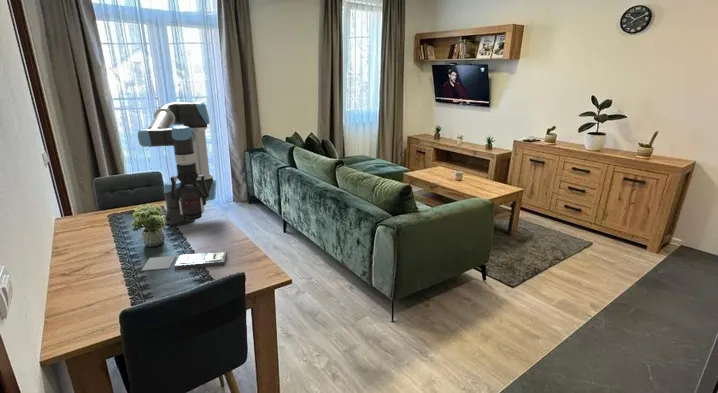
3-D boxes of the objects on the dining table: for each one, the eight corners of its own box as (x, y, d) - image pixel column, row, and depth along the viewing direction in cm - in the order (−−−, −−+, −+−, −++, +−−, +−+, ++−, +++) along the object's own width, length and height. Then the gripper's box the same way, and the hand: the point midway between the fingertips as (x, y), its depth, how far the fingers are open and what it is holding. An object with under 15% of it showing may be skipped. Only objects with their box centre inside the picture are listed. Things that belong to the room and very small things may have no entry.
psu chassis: (180, 258, 167) (179, 254, 166) (227, 255, 171) (226, 250, 170) (174, 269, 158) (174, 264, 157) (224, 265, 162) (223, 260, 161)
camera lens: (196, 221, 162) (192, 189, 158) (180, 220, 164) (175, 187, 159) (207, 214, 170) (203, 183, 165) (191, 213, 171) (186, 182, 166)
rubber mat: (149, 258, 167) (149, 257, 167) (176, 256, 169) (176, 255, 169) (141, 271, 157) (141, 270, 157) (169, 268, 159) (169, 267, 159)
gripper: (156, 166, 153) (165, 217, 160) (210, 164, 158) (216, 214, 165) (161, 162, 160) (169, 211, 167) (213, 160, 164) (218, 208, 172)
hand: (192, 212), depth 166 cm, fingers closed on camera lens, 8 cm apart
